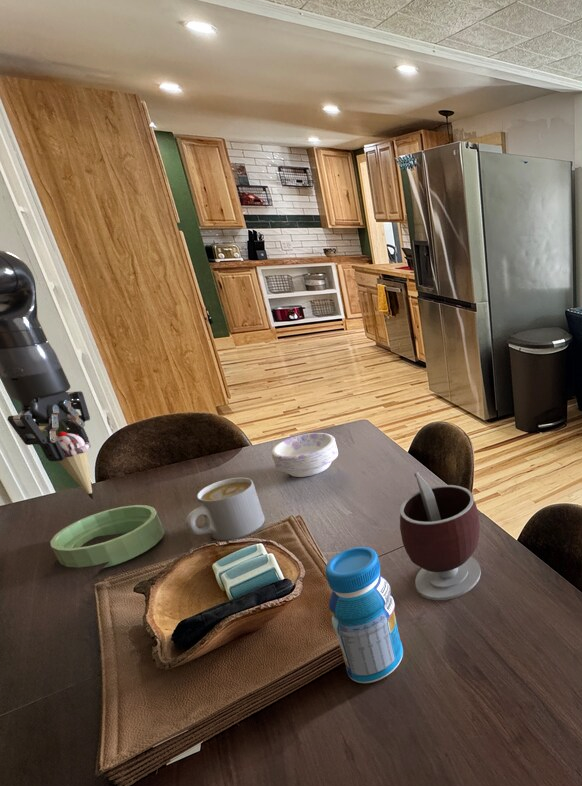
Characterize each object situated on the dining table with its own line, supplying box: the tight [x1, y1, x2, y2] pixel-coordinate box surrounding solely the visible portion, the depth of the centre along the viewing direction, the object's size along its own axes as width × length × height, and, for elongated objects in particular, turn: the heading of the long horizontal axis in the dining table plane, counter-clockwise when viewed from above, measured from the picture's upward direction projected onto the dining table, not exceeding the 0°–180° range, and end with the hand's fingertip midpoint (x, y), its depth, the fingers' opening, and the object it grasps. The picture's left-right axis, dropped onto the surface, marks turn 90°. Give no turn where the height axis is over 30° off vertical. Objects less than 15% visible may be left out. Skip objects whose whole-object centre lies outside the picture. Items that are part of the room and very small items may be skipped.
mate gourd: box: [399, 471, 482, 601], centre depth 89 cm, size 16×14×20 cm
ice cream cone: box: [56, 431, 94, 500], centre depth 92 cm, size 6×6×15 cm
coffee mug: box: [185, 477, 266, 541], centre depth 104 cm, size 13×10×10 cm
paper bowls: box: [271, 432, 339, 478], centre depth 131 cm, size 15×15×8 cm
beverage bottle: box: [325, 546, 404, 684], centre depth 71 cm, size 8×8×20 cm
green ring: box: [49, 504, 166, 569], centre depth 99 cm, size 16×16×6 cm
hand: (70, 452), depth 91 cm, fingers closed on ice cream cone, 5 cm apart
